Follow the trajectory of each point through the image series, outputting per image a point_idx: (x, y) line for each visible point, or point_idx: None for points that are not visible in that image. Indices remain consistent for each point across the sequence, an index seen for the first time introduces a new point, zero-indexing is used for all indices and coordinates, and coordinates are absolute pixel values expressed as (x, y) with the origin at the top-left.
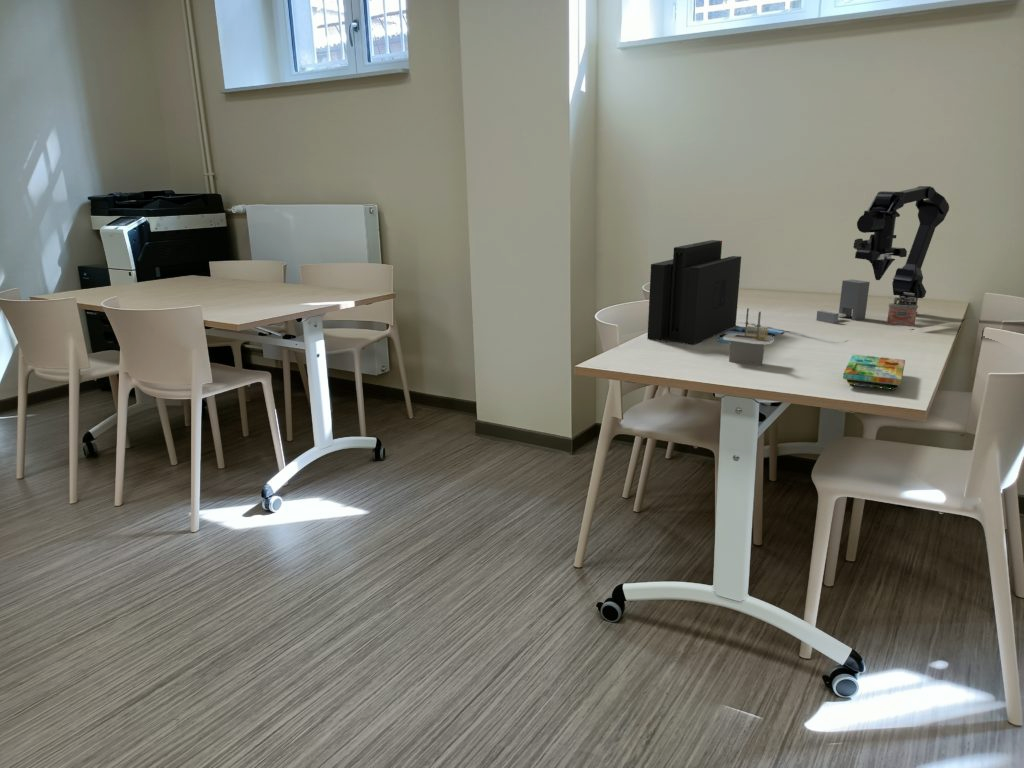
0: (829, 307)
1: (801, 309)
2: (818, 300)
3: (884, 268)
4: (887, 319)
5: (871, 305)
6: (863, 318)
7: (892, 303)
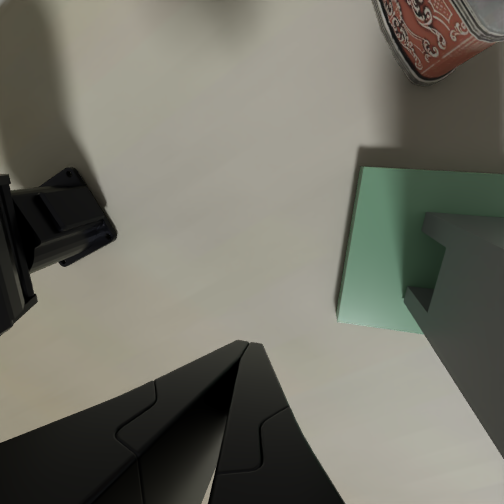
0: None
1: None
2: None
3: (187, 423)
4: (460, 64)
5: (52, 371)
6: (440, 213)
7: (499, 11)
